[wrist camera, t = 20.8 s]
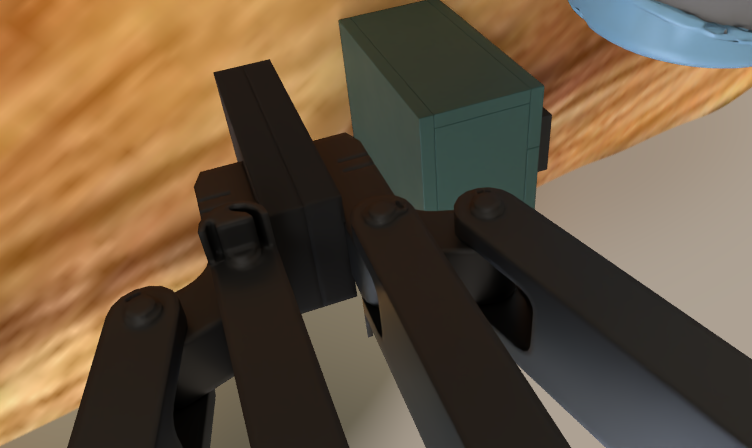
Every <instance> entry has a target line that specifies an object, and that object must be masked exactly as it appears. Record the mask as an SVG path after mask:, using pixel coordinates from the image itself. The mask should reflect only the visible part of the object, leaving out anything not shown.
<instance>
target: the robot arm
mask: <svg viewBox="0 0 752 448" xmlns="http://www.w3.org/2000/svg"><path fill="white" fill-rule="evenodd" d="M568 2H569V4H570V5H571V7H572V9H573V10H574V11H575V12H576V13H577V14H578V15H579V16H580V17H581V18H583V19H584V20H585V21H586V22H587V24H588V26H589V27H590V28H591V29H592V30H593V31H595V32H596V33H597V34H599V35H600V36H602V37H603V38H605V39H607V40H608V41H610V42H612V43H614V44H616V45H618V46H620V47H622V48H624V49H626V50H629V51H631V52H634V53H636V54H639V55H642V56H645V57H649V58H652V59H656V60H660V61H664V62H669V63H674V64H679V65H685V66H692V67H703V68H744V67H752V0H568ZM213 73H214V76H215V80H216V84H217V87H218V91H219V95H220V99H221V102H222V106H223V110H224V113H225V117H226V121H227V124H228V128H229V132H230V135H231V139H232V143H233V146H234V150H235V154H236V157H237V161H238V162H237V163H233V164H229V165H225V166H222V167H218V168H214V169H210V170H206V171H203V172H200V174H199V176H198V178H197V181H196V183H195V185H194V189H195V193H196V198H197V202H198V207H199V211H200V215H201V221H200V223H199V227H198V234H199V237H200V240H201V243H202V246H203V248H204V251H205V254H206V257H207V260H208V264H207V267H206V268H205V270H204V271H203V273H202V274H201V275H200V276H199V277H198V278H197V279H196V280H195V281H193V282H192V283H190V284H189V285H187V286H186V287H184V288H182V289H180V290H178V291H177V292H175V293H174V291H173V290H171V289H168V288H165V287H163V286H148V287H144V288H140V289H136V290H134V291H132V292H130V293H128V294H126V295H124V296H123V297H121V298H120V299H119V300H118V301H117V302H116V303H115V304H114V305H113V306H112V307H111V309H110V310H109V312H108V314H107V316H106V318H105V322H104V325H103V328H102V332H101V335H100V339H99V342H98V345H97V349H96V352H95V356H94V359H93V362H92V366H91V369H90V372H89V376H88V379H87V383H86V386H85V389H84V393H83V396H82V400H81V403H80V406H79V410H78V413H77V417H76V420H75V423H74V427H73V430H72V434H71V437H70V440H69V444H68V447H67V448H210V443H211V434H212V424H213V415H214V406H215V397H216V395H215V388H217V387H218V386H220V385H221V384H223V383H224V382H226V381H227V380H229V379H231V378H232V377H234V376H235V380H236V385H237V389H238V393H239V398H240V402H241V407H242V411H243V416H244V420H245V424H246V429H247V433H248V437H249V442H250V446H251V448H349V446H348V443H347V440H346V437H345V434H344V432H343V429H342V426H341V423H340V420H339V418H338V415H337V412H336V410H335V407H334V404H333V401H332V399H331V396H330V393H329V390H328V387H327V385H326V382H325V379H324V376H323V373H322V371H321V368H320V365H319V362H318V360H317V357H316V354H315V351H314V348H313V346H312V343H311V340H310V337H309V335H308V332H307V329H306V327H305V323H304V321H303V318H302V315H301V314H302V313H305V312H309V311H312V310H315V309H318V308H322V307H325V306H328V305H331V304H334V303H337V302H341V301H344V300H347V299H350V298H353V297H356V296H357V291H356V285H355V282H356V284H357V286H358V289H359V291H360V293H361V295H362V300H363V307H364V314H365V320H366V327H367V333H368V337H371V336H373V333H374V335H375V337H376V339H377V342H378V344H379V346H380V348H381V350H382V352H383V355H384V357H385V359H386V361H387V363H388V366H389V368H390V370H391V372H392V374H393V376H394V379H395V381H396V383H397V385H398V388H399V390H400V392H401V394H402V396H403V398H404V401H405V403H406V405H407V407H408V409H409V412H410V413H411V416H412V418H413V420H414V422H415V425H416V427H417V429H418V431H419V433H420V436H421V438H422V440H423V442H424V444H425V447H426V448H571V447H570V445H569V444H568V442H567V441H566V439H565V438H564V436H563V435H562V433H561V432H560V430H559V428H558V427H557V426H556V424H555V422H554V421H553V419H552V418H551V416H550V415H549V413H548V412H547V410H546V409H545V407H544V406H543V404H542V402H541V401H540V400H539V398H538V396H537V395H536V394H535V392H534V390H533V389H532V387H531V386H530V384H529V383H528V381H527V380H526V378H525V377H524V375H523V374H522V373H521V370H520V369H519V367H518V366H520V367H521V368H522V369H523V370H524V371H525V372H526V373H527V374H528V375H529V376H530V377H531V378H532V379H533V380H534V381H536V383H538V384H539V385H540V386H541V387H542V388H543V389H544V390H545V391H546V392H547V393H548V394H549V395H550V396H551V397H552V398H553V399H555V400H556V401H557V402H558V403H559V404H560V405H561V406H562V407H563V408H564V409H565V410H566V411H567V412H568V413H570V414H571V415H572V416H573V417H574V418H575V419H576V420H577V421H578V422H579V423H580V424H581V425H582V426H583V427H584V428H585V429H586V430H588V431H589V432H590V433H591V434H592V435H593V436H594V437H595V438H596V439H597V440H598V441H599V442H600V443H601V444H602V445H604V446H605V447H606V448H752V359H751V358H749V357H748V356H746V355H745V354H743V353H742V352H740V351H739V350H737V349H736V348H735V347H733V346H731V345H730V344H729V343H727V342H726V341H724V340H723V339H722V338H720V337H719V336H717V335H716V334H714V333H713V332H711V331H710V330H708V329H707V328H705V327H704V326H702V325H701V324H700V323H698V322H697V321H695V320H694V319H692V318H691V317H690V316H688V315H687V314H685V313H684V312H682V311H681V310H679V309H678V308H677V307H675V306H674V305H672V304H671V303H669V302H668V301H666V300H665V299H664V298H662V297H660V296H659V295H658V294H656V293H654V292H653V291H652V290H650V289H649V288H648V287H646V286H645V285H643V284H642V283H640V282H639V281H637V280H636V279H634V278H633V277H632V276H630V275H629V274H627V273H626V272H624V271H623V270H621V269H620V268H618V267H617V266H616V265H614V264H613V263H611V262H610V261H608V260H607V259H605V258H604V257H603V256H601V255H600V254H598V253H597V252H595V251H594V250H592V249H591V248H590V247H588V246H587V245H585V244H584V243H582V242H581V241H579V240H578V239H576V238H575V237H574V236H572V235H571V234H569V233H568V232H566V231H565V230H563V229H562V228H561V227H559V226H558V225H556V224H554V223H553V222H552V221H550V220H549V219H547V218H546V217H544V216H543V215H541V214H540V213H539V212H537V211H536V210H534V209H533V208H532V207H530V206H529V205H527V204H526V203H524V202H523V201H521V200H520V199H518V198H517V197H516V196H514V195H513V194H511V193H509V192H507V191H504V190H502V189H497V188H491V187H485V188H476V189H473V190H469V191H466V192H465V193H463V194H462V195H461V196H459V197H458V198H457V200H456V202H455V204H454V210H444V211H422V210H417V209H415V208H414V207H413V205H412V204H410V203H409V202H408V201H407V200H406V199H404V198H401V197H399V196H396V195H394V193H393V192H392V190H391V189H390V187H389V185H388V184H387V182H386V181H385V179H384V178H383V176H382V174H381V173H380V171H379V170H378V168H377V167H376V165H375V164H374V162H373V160H372V159H371V157H370V156H369V155H368V152H367V151H366V149H365V148H364V146H363V145H362V143H361V141H360V140H358V139H356V138H354V137H352V136H351V135H349V134H347V133H341V134H338V135H334V136H330V137H326V138H322V139H318V140H315V141H312V139H311V137H310V135H309V133H308V131H307V129H306V128H305V126H304V124H303V122H302V120H301V118H300V116H299V114H298V112H297V110H296V109H295V107H294V105H293V103H292V101H291V99H290V97H289V95H288V93H287V91H286V90H285V88H284V86H283V84H282V82H281V80H280V78H279V76H278V74H277V72H276V71H275V69H274V67H273V65H272V63H271V61H270V59H269V60H265V61H260V62H256V63H252V64H248V65H243V66H239V67H235V68H230V69H226V70H222V71H218V72H213ZM517 365H518V366H517Z"/></svg>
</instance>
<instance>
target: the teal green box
mask: <svg viewBox="0 0 752 448" xmlns="http://www.w3.org/2000/svg"><path fill="white" fill-rule="evenodd" d="M339 28H340V36H341V43H342V51H343V58H344V66H345V73H346V81H347V88H348V96H349V104H350V111H351V119H352V126H353V134H354V138H356V139H358V140H360V141H361V143H362V145H363V146H364V148H365V149H366V151H367V152H368V155H369V156H370V157H371V159H372V160H373V162H374V164H375V165H376V167H377V168H378V170H379V171H380V173H381V174H382V176H383V178H384V179H385V181H386V182H387V184H388V185H389V187H390V189H391V190H392V192H393V193H394V195H396V196H399V197H401V198H404V199H406V200H407V201H408V202H409V203H410V204H412V205H413V207H414V208H415V209H417V210H422V211H444V210H454V204H455V202H456V200H457V198H458V197H459V196H461V195H462V194H463V193H465V192H466V191H469V190H473V189H476V188H485V187H491V188H497V189H502V190H504V191H507V192H509V193H511V194H513V195H514V196H516V197H517V198H518V199H520V200H521V201H523V202H524V203H526V204H527V205H529V206H530V207H532V208H533V209H534V210H535V197H536V184H537V172H538V159H539V145H540V135H541V123H542V110H543V97H544V85H543V84H542V83H540V82H539V81H538V80H537V79H535V78H534V77H533V76H532V75H531V74H529V73H528V72H527V71H526V70H524V69H523V68H522V67H521V66H520V65H518V64H517V63H516V62H515V61H513V60H512V59H511V58H510V57H509V56H507V55H506V54H505V53H504V52H502V51H501V50H500V49H499V48H498V47H496V46H495V45H494V44H493V43H491V42H490V41H489V40H488V39H487V38H485V37H484V36H483V35H482V34H480V33H479V32H478V31H477V30H476V29H474V28H473V27H472V26H471V25H469V24H468V23H467V22H466V21H465V20H463V19H462V18H461V17H460V16H459V15H457V14H456V13H455V12H454V11H452V10H451V9H450V8H449V7H448V6H446V5H445V4H444V3H443V2H441V1H440V0H427V1H426V0H425V1H420V2H416V3H411V4H407V5H403V6H398V7H394V8H389V9H385V10H380V11H376V12H372V13H367V14H363V15H358V16H354V17H350V18H346V19H341V20H339Z"/></svg>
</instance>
